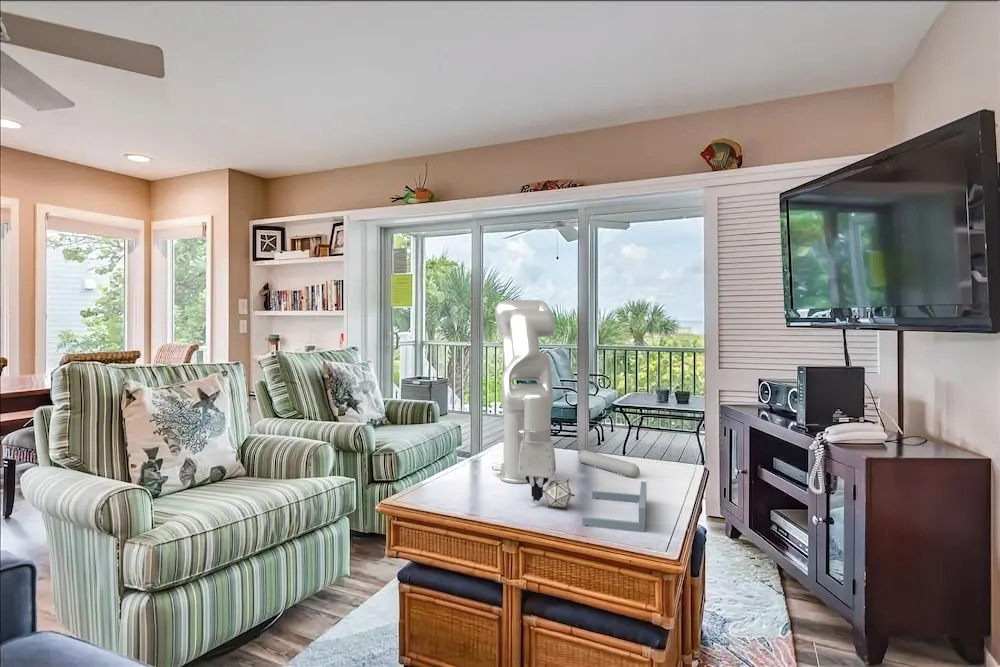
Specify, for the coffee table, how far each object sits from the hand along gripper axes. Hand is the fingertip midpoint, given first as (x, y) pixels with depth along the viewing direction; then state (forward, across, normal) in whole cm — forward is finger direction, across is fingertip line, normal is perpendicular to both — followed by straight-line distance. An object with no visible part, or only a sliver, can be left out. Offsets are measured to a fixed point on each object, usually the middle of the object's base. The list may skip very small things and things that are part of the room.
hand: (537, 499), depth 151 cm
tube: (+2, +16, +43) cm, 46 cm away
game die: (+2, +6, 0) cm, 6 cm away
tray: (+2, +22, 0) cm, 22 cm away
